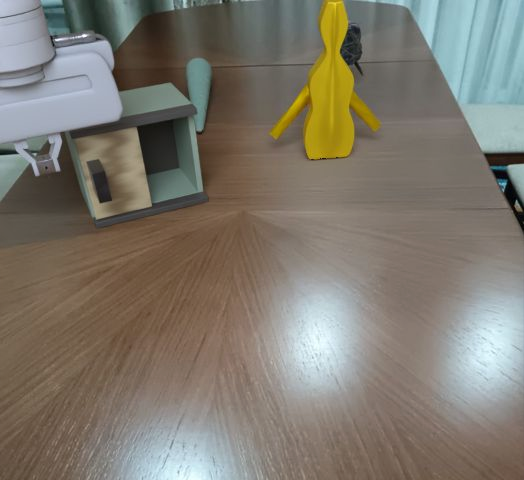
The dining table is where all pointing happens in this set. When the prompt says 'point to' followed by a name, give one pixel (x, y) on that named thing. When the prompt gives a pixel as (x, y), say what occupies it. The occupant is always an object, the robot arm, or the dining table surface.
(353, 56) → the dark grey lumpy shape
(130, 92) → the closet
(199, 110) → the mint green cone
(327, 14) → the figure statuette
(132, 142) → the closet door
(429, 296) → the dining table surface
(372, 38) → the dining table surface
